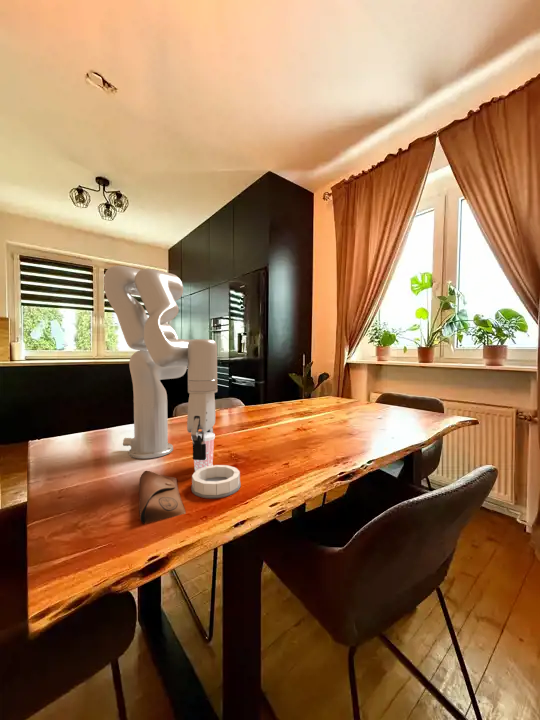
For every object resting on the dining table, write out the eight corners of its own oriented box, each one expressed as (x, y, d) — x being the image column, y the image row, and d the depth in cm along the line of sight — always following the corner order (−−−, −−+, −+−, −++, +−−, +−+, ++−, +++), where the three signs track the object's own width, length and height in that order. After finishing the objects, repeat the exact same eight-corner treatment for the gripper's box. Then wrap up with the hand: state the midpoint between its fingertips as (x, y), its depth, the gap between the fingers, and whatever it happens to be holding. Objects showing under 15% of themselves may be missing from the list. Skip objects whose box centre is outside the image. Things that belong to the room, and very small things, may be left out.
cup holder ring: (184, 497, 63) (184, 483, 63) (200, 476, 74) (200, 464, 74) (235, 499, 63) (235, 485, 63) (244, 477, 74) (244, 465, 73)
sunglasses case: (189, 513, 57) (170, 487, 55) (155, 540, 55) (134, 513, 53) (177, 477, 73) (161, 456, 72) (150, 497, 71) (134, 475, 69)
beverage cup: (207, 462, 83) (207, 412, 83) (219, 469, 79) (219, 416, 78) (187, 468, 79) (186, 416, 79) (199, 475, 75) (198, 419, 74)
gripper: (199, 383, 87) (199, 444, 88) (176, 390, 70) (176, 467, 71) (224, 383, 87) (225, 445, 87) (207, 391, 69) (208, 468, 70)
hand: (203, 454), depth 79 cm, fingers closed on beverage cup, 6 cm apart
